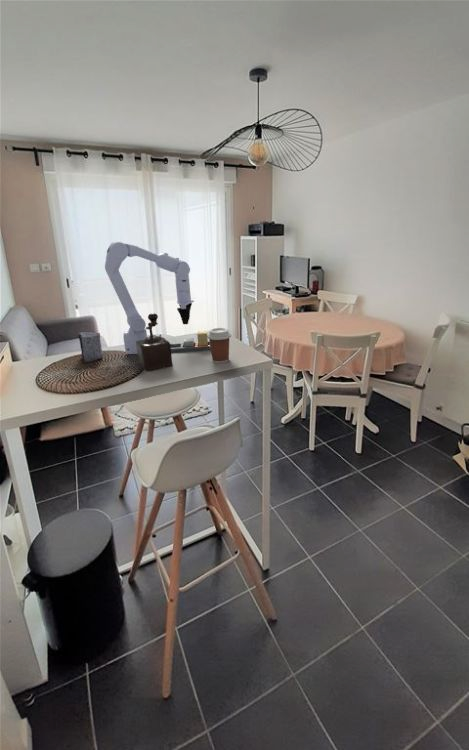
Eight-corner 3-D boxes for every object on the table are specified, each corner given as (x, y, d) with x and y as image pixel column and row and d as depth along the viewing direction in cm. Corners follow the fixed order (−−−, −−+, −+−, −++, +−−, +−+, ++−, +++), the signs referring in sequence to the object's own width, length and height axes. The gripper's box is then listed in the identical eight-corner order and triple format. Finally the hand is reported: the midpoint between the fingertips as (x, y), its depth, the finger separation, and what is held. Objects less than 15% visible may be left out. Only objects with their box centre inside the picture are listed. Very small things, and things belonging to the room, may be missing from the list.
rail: (165, 352, 150) (164, 348, 149) (167, 347, 156) (166, 343, 156) (212, 350, 151) (212, 346, 150) (212, 344, 157) (212, 341, 157)
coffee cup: (224, 354, 145) (223, 325, 140) (236, 360, 137) (235, 330, 133) (204, 359, 140) (202, 329, 135) (216, 366, 133) (214, 335, 128)
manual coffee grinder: (175, 365, 135) (169, 318, 128) (146, 372, 130) (139, 323, 123) (161, 354, 148) (156, 311, 141) (134, 360, 143) (127, 315, 136)
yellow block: (198, 349, 152) (197, 333, 149) (198, 346, 155) (197, 331, 153) (208, 349, 152) (206, 333, 149) (208, 346, 156) (207, 330, 153)
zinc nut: (184, 350, 152) (183, 341, 150) (185, 347, 155) (184, 338, 154) (194, 350, 152) (193, 341, 150) (194, 347, 155) (193, 338, 154)
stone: (78, 367, 142) (77, 353, 149) (104, 367, 147) (102, 353, 154) (78, 342, 136) (77, 328, 143) (106, 343, 140) (103, 329, 147)
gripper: (191, 292, 145) (194, 325, 150) (193, 287, 158) (196, 317, 163) (174, 293, 145) (177, 326, 150) (177, 288, 158) (180, 318, 163)
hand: (186, 321), depth 157 cm, fingers open, 7 cm apart
